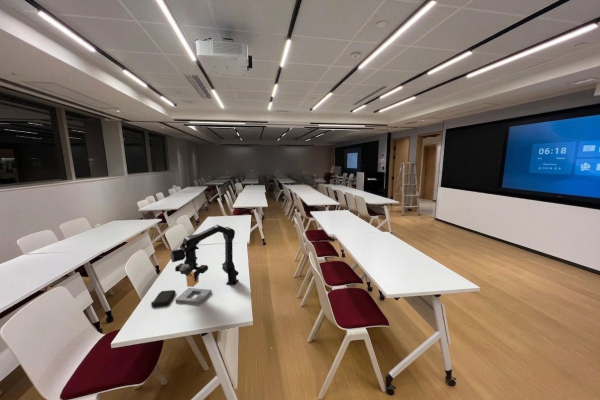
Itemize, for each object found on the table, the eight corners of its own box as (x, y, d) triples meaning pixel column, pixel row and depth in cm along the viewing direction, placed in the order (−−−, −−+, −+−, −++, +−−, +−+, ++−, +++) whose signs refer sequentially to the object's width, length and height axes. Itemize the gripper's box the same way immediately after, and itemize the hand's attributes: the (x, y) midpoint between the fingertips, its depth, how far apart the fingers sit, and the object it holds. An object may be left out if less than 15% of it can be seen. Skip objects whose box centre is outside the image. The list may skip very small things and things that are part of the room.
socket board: (188, 290, 155) (188, 287, 154) (211, 292, 152) (211, 289, 152) (175, 302, 142) (175, 299, 142) (200, 304, 140) (199, 301, 139)
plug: (193, 281, 149) (192, 271, 148) (198, 281, 148) (198, 271, 147) (187, 286, 143) (186, 275, 142) (193, 286, 142) (192, 276, 141)
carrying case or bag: (158, 294, 151) (148, 308, 136) (158, 290, 150) (148, 304, 136) (176, 292, 153) (168, 306, 138) (176, 288, 152) (168, 302, 138)
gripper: (167, 261, 136) (170, 286, 139) (197, 264, 133) (199, 289, 136) (180, 254, 147) (182, 277, 150) (207, 256, 144) (209, 279, 147)
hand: (192, 281), depth 145 cm, fingers closed on plug, 4 cm apart
